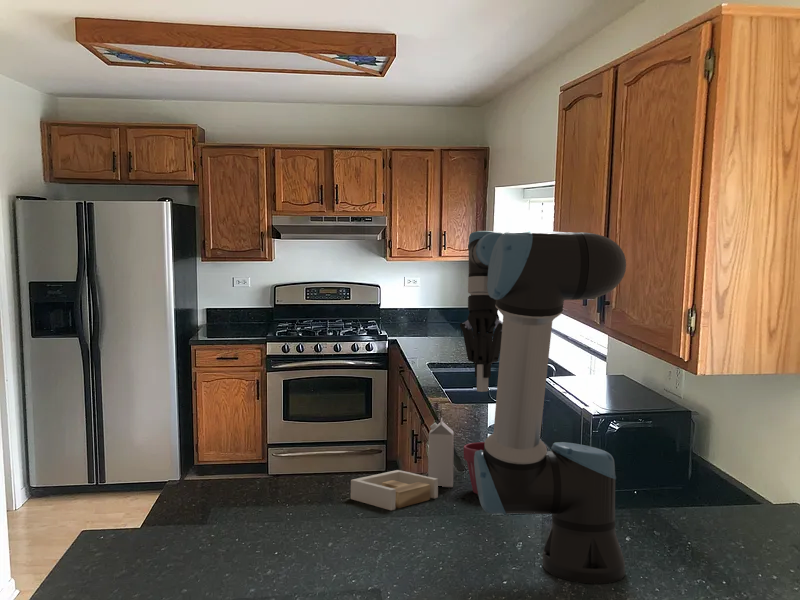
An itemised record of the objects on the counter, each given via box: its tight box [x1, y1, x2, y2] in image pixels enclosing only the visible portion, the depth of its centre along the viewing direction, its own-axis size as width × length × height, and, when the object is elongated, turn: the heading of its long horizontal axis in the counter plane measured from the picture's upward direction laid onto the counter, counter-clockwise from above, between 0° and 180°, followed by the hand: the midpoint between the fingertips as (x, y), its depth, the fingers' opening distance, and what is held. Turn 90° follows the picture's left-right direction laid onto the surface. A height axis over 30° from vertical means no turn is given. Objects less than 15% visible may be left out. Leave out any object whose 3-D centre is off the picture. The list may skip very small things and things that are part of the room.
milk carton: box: [427, 416, 455, 488], centre depth 190 cm, size 7×7×19 cm
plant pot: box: [463, 441, 485, 495], centre depth 182 cm, size 14×14×13 cm
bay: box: [350, 469, 439, 511], centre depth 174 cm, size 15×18×5 cm
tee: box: [382, 480, 431, 509], centre depth 172 cm, size 10×12×4 cm
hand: (482, 391), depth 159 cm, fingers closed
